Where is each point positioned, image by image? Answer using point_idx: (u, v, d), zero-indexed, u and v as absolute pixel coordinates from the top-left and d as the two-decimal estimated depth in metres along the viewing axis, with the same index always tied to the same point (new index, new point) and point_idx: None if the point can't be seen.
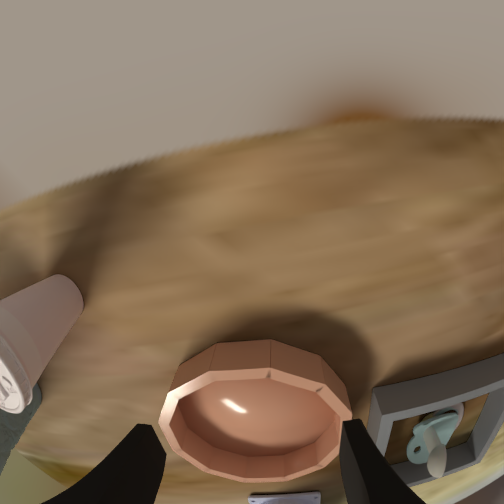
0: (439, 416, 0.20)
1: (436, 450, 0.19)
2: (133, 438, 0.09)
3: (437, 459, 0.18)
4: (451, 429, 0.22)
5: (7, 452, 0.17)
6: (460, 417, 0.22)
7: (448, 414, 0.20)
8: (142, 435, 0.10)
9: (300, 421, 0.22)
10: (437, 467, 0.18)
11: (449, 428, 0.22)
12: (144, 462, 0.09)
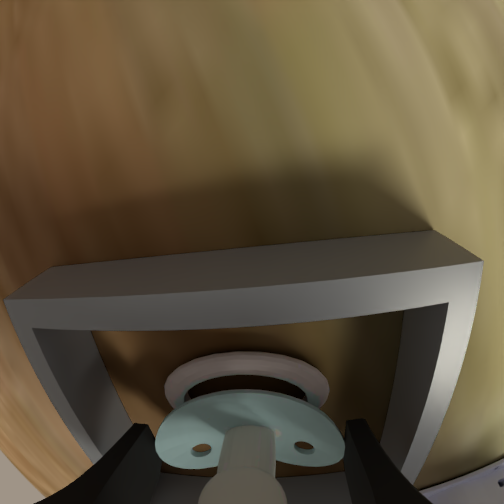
0: (161, 452, 0.11)
1: None
2: (130, 438, 0.09)
3: None
4: (249, 396, 0.10)
5: None
6: (222, 368, 0.11)
7: (156, 440, 0.10)
8: (139, 435, 0.10)
9: None
10: None
11: (246, 399, 0.10)
12: (140, 461, 0.09)
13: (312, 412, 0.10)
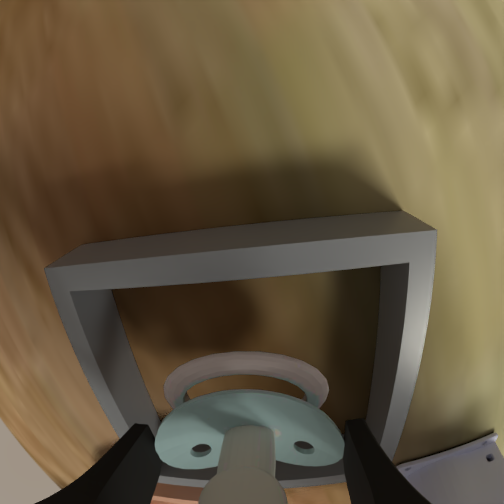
0: (161, 452, 0.11)
1: None
2: (130, 437, 0.09)
3: None
4: (249, 396, 0.10)
5: None
6: (221, 368, 0.11)
7: (156, 440, 0.10)
8: (139, 435, 0.10)
9: None
10: None
11: (246, 399, 0.10)
12: (141, 461, 0.09)
13: (312, 412, 0.10)
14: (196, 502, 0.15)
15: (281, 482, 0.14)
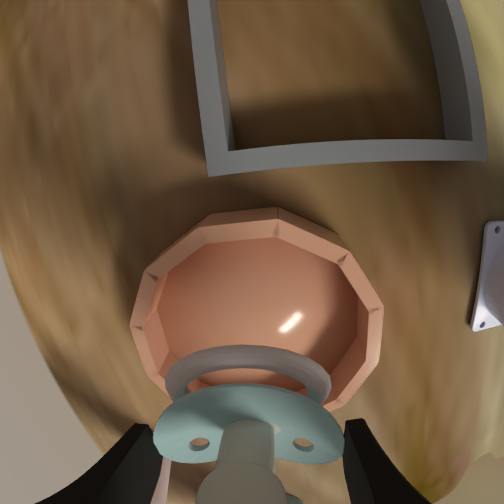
0: (158, 445, 0.11)
1: None
2: (130, 438, 0.09)
3: None
4: (252, 390, 0.10)
5: None
6: (225, 360, 0.11)
7: (154, 432, 0.10)
8: (139, 435, 0.10)
9: (273, 272, 0.18)
10: None
11: (249, 393, 0.10)
12: (141, 462, 0.09)
13: (314, 408, 0.10)
14: (271, 224, 0.14)
15: (386, 144, 0.13)
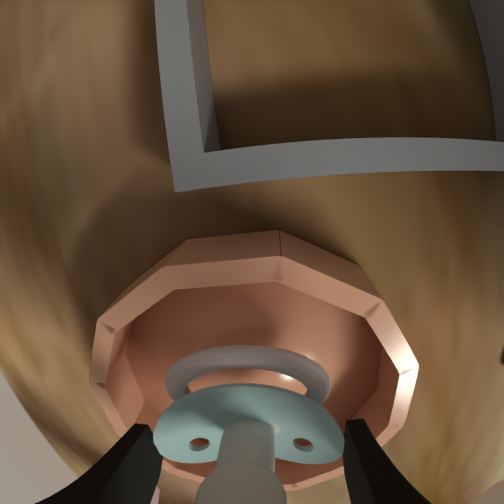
0: (158, 445, 0.11)
1: None
2: (130, 438, 0.09)
3: None
4: (252, 390, 0.10)
5: None
6: (225, 360, 0.11)
7: (154, 432, 0.10)
8: (139, 435, 0.10)
9: (272, 318, 0.13)
10: None
11: (249, 393, 0.10)
12: (141, 462, 0.09)
13: (314, 408, 0.10)
14: (270, 263, 0.09)
15: (440, 145, 0.08)
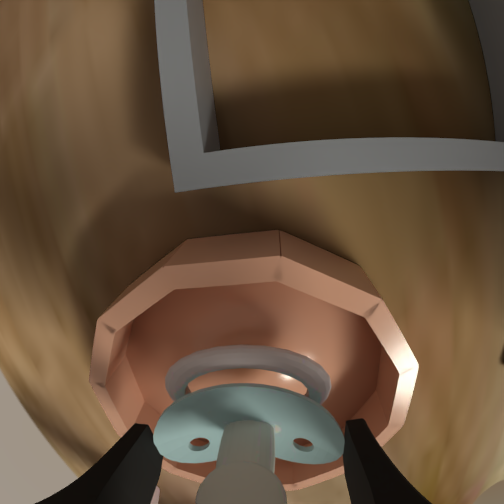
0: (159, 445, 0.11)
1: None
2: (130, 438, 0.09)
3: None
4: (252, 390, 0.10)
5: None
6: (225, 360, 0.11)
7: (154, 432, 0.10)
8: (139, 435, 0.10)
9: (272, 318, 0.13)
10: None
11: (249, 393, 0.10)
12: (141, 462, 0.09)
13: (314, 408, 0.10)
14: (270, 263, 0.09)
15: (440, 145, 0.08)
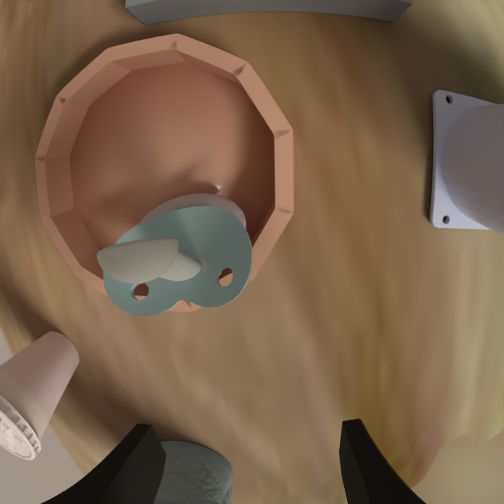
0: (107, 281, 0.14)
1: None
2: (133, 438, 0.09)
3: None
4: (181, 215, 0.15)
5: None
6: (170, 204, 0.16)
7: None
8: (142, 435, 0.10)
9: (180, 110, 0.15)
10: None
11: (180, 220, 0.15)
12: (144, 462, 0.09)
13: (222, 214, 0.14)
14: (170, 38, 0.12)
15: None
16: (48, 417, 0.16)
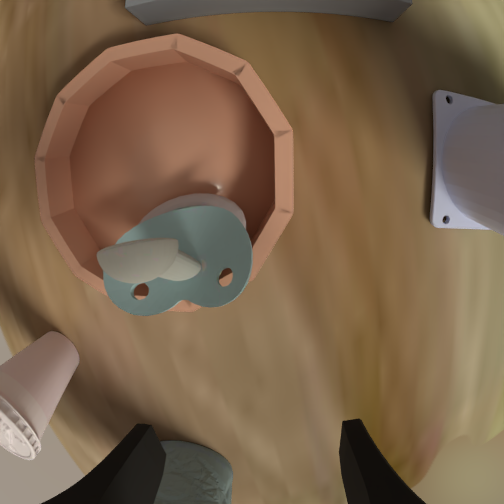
0: (107, 281, 0.14)
1: None
2: (133, 438, 0.09)
3: None
4: (181, 215, 0.15)
5: None
6: (170, 204, 0.16)
7: None
8: (142, 435, 0.10)
9: (180, 110, 0.15)
10: None
11: (180, 220, 0.15)
12: (144, 462, 0.09)
13: (222, 214, 0.14)
14: (170, 38, 0.12)
15: None
16: (48, 417, 0.16)
